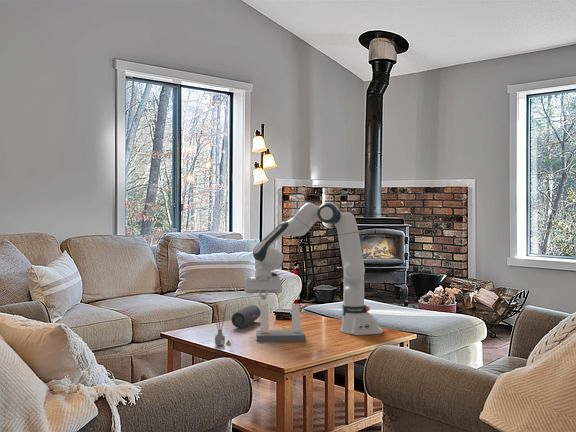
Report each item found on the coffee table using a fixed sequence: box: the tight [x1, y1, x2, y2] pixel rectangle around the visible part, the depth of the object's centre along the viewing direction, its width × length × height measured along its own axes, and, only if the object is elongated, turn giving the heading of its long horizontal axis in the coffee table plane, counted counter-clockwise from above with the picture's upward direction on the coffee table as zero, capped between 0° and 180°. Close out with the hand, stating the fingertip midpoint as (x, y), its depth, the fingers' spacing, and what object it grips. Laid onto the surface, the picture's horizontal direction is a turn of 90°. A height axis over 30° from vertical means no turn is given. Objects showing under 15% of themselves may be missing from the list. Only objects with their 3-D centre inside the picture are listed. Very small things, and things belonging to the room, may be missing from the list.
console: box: [255, 329, 306, 343], centre depth 307 cm, size 24×12×3 cm, turn 94°
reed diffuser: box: [211, 304, 231, 346], centre depth 294 cm, size 10×7×20 cm
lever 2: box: [291, 303, 301, 331], centre depth 310 cm, size 4×2×14 cm, turn 94°
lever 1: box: [259, 303, 270, 332], centre depth 309 cm, size 4×2×14 cm, turn 94°
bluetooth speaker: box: [231, 304, 261, 328], centre depth 337 cm, size 23×9×10 cm, turn 162°
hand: (263, 298), depth 320 cm, fingers closed
